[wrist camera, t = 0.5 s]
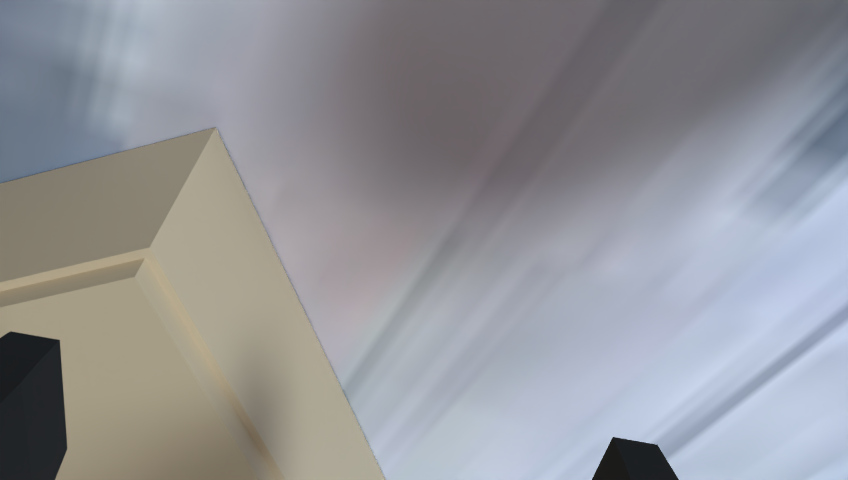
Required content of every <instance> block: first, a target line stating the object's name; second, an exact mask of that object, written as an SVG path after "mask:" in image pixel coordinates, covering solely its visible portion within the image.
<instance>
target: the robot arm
mask: <svg viewBox="0 0 848 480" xmlns="http://www.w3.org/2000/svg"><path fill="white" fill-rule="evenodd" d="M66 451H67V435H66V421H65V407H64V392H63V378H62V363H61V349H60V340H57V339H52V338H46V337H40V336H35V335H29V334H23V333H18V332H12V331H10V332H9V333H7V334H5V335H4V336H2V337H1V338H0V480H55V479H56V476H57V474H58V471H59V469H60V466H61V464H62V461H63V459H64V456H65V454H66ZM592 480H678V478H677V476H676V475H675V473H674V471H673V470H672V468H671V466H670V465H669V463H668V462H667V460H666V458H665V457H664V455H663V453H662V452H661V450H660V449H659V447H658V445H655V444H649V443H644V442H638V441H632V440H627V439H621V438H615V437H613V438H612V440H611V442H610V444H609V446H608V448H607V450H606V452H605V454H604V456H603V458H602V460H601V462H600V464H599V466H598V468H597V470H596V472H595V475H594V477H593V479H592Z"/></svg>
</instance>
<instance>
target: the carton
mask: <svg viewBox="0 0 848 480" xmlns="http://www.w3.org/2000/svg"><path fill="white" fill-rule="evenodd" d="M10 331H12V332H18V333H23V334H29V335H35V336H40V337H46V338H52V339H57V340H60V349H61V363H62V378H63V392H64V407H65V421H66V435H67V451H66V454H65V456H64V459H63V461H62V464H61V466H60V469H59V471H58V474H57V476H56V479H55V480H385V478H384V476H383V474H382V472H381V470H380V467H379V465H378V463H377V461H376V459H375V457H374V455H373V453H372V451H371V449H370V447H369V445H368V443H367V440H366V438H365V436H364V434H363V432H362V430H361V428H360V426H359V424H358V422H357V420H356V418H355V416H354V413H353V411H352V409H351V407H350V405H349V403H348V401H347V399H346V397H345V395H344V393H343V391H342V389H341V387H340V384H339V382H338V380H337V378H336V376H335V374H334V372H333V370H332V368H331V366H330V364H329V362H328V360H327V357H326V355H325V353H324V351H323V349H322V347H321V345H320V343H319V341H318V339H317V337H316V335H315V333H314V330H313V328H312V326H311V324H310V322H309V320H308V318H307V316H306V314H305V312H304V310H303V308H302V306H301V303H300V301H299V299H298V297H297V295H296V293H295V291H294V289H293V287H292V285H291V283H290V281H289V279H288V276H287V274H286V272H285V270H284V268H283V266H282V264H281V262H280V260H279V258H278V256H277V254H276V252H275V249H274V247H273V245H272V243H271V241H270V239H269V237H268V235H267V233H266V231H265V229H264V227H263V225H262V222H261V220H260V218H259V216H258V214H257V212H256V210H255V208H254V206H253V204H252V202H251V200H250V198H249V195H248V193H247V191H246V189H245V187H244V185H243V183H242V181H241V179H240V177H239V175H238V173H237V171H236V169H235V166H234V164H233V162H232V160H231V158H230V156H229V154H228V152H227V150H226V148H225V146H224V144H223V142H222V139H221V137H220V135H219V133H218V131H217V129H216V127H215V128H212V129H208V130H204V131H200V132H196V133H192V134H189V135H185V136H181V137H177V138H173V139H169V140H166V141H162V142H158V143H154V144H150V145H146V146H143V147H139V148H135V149H131V150H127V151H123V152H120V153H116V154H112V155H108V156H104V157H100V158H97V159H93V160H89V161H85V162H81V163H77V164H74V165H70V166H66V167H62V168H58V169H54V170H51V171H47V172H43V173H39V174H35V175H31V176H28V177H24V178H20V179H16V180H12V181H9V182H5V183H1V184H0V338H1V337H2V336H4V335H5V334H7V333H9V332H10Z"/></svg>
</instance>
